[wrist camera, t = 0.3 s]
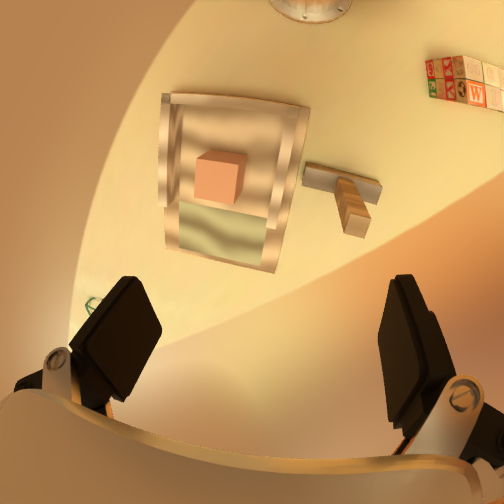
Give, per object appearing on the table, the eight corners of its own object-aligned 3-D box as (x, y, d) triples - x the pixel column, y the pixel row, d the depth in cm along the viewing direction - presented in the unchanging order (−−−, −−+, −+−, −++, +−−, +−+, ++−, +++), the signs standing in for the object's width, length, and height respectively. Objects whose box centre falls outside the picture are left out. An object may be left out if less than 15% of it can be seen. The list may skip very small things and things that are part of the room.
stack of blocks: (514, 85, 21) (557, 93, 11) (516, 116, 24) (558, 132, 14) (423, 60, 26) (463, 54, 16) (428, 98, 29) (468, 103, 19)
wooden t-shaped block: (306, 162, 40) (306, 199, 27) (377, 181, 39) (410, 227, 26) (302, 179, 41) (299, 225, 28) (372, 197, 41) (400, 250, 27)
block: (210, 149, 40) (196, 158, 35) (247, 155, 40) (238, 164, 35) (207, 184, 44) (193, 197, 39) (242, 190, 43) (233, 205, 38)
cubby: (171, 92, 37) (152, 93, 32) (310, 108, 35) (311, 110, 30) (167, 246, 53) (154, 263, 49) (275, 270, 52) (271, 291, 47)
